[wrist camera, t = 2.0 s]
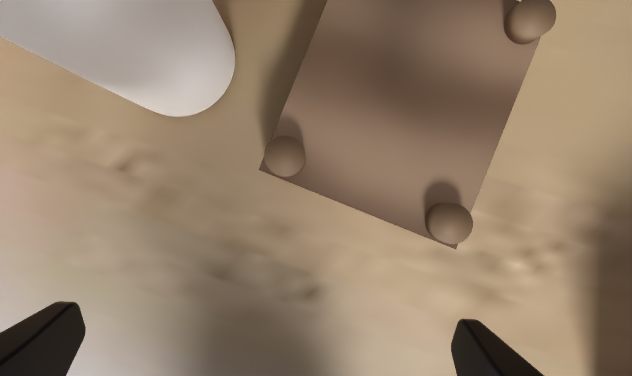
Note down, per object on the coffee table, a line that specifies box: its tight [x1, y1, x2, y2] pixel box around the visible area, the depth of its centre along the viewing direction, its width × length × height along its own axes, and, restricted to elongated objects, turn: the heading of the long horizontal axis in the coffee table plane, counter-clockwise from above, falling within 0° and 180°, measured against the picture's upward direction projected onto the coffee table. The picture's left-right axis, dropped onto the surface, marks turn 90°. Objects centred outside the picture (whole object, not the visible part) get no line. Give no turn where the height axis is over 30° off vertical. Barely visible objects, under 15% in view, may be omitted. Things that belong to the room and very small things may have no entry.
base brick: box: [259, 0, 556, 249], centre depth 18 cm, size 12×10×4 cm
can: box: [0, 0, 235, 117], centre depth 14 cm, size 6×6×12 cm
